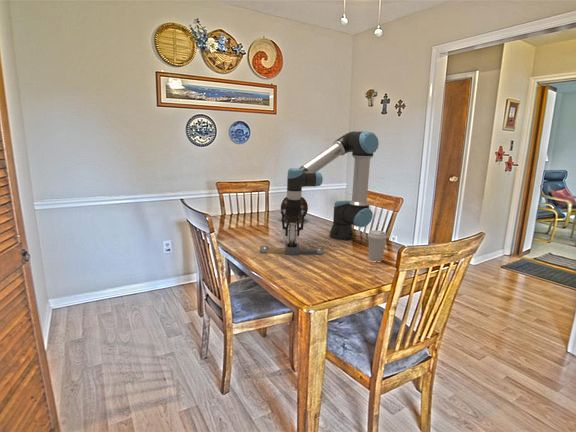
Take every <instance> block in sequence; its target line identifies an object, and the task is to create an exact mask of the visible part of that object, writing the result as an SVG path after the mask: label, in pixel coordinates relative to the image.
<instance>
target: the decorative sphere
mask: <svg viewBox="0 0 576 432" xmlns="http://www.w3.org/2000/svg"><path fill="white" fill-rule="evenodd" d="M287 199H288V198H287V196H286V197H285V198H283V200H282V201H281V204H280V211H281V210H284V209H285V208H286V203H287ZM300 199H301V209H302V210H303V211H306V214H305V217H306V216H307V214H308V210H309V205H308V201H307V200H306V199H305V197H303V196H302V195H301V198H300ZM284 219H286V221H287V220H288V213H287V212H285V214H284ZM301 219H302V214H301V212H300V213H299V215H298V221H301ZM290 222H296V217H294V216H292V217H291V219H290Z"/></svg>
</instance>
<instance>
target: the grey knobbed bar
mask: <svg viewBox="0 0 576 432" xmlns="http://www.w3.org/2000/svg"><path fill="white" fill-rule="evenodd" d="M288 245H289V243H287V242H284V247H270V246H268V245H261V246H260V247H259V253H261V254H283V255H286V256H291V255H292V256H296V255H297V256H300V255H318V256H321V255H324V254H325V248H323V247H320V246H319V247H314V248H306V247H305V248H303V247H302V248H300V243H298V242H297V243H295V247H289V246H288Z"/></svg>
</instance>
